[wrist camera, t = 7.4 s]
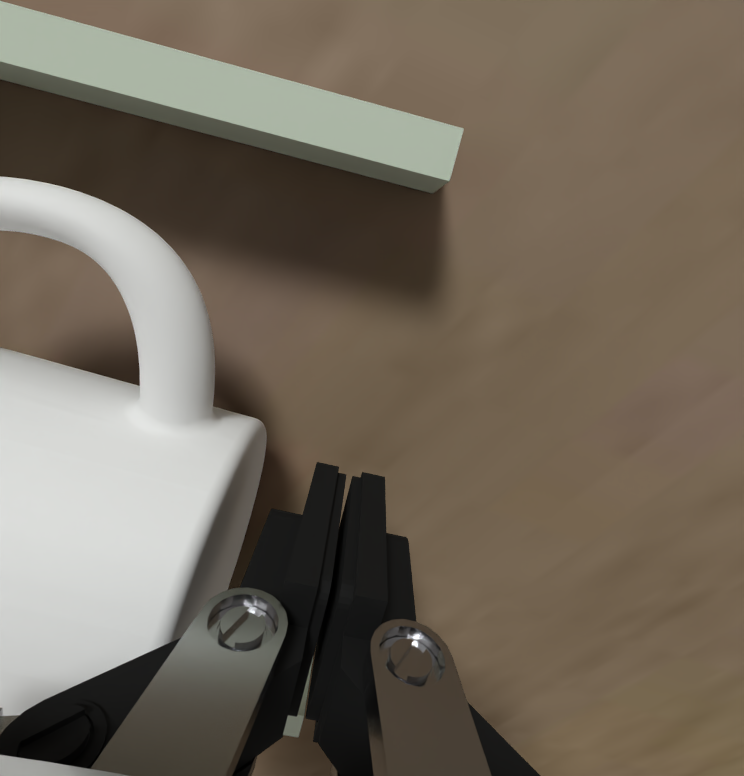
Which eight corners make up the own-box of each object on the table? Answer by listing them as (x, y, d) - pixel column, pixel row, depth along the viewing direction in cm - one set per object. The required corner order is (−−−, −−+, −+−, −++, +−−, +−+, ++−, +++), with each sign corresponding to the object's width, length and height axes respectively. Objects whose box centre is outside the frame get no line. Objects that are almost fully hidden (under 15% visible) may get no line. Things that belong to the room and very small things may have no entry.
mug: (235, 582, 17) (115, 873, 9) (-49, 511, 16) (-444, 768, 8) (319, 252, 13) (238, 275, 5) (-46, 137, 12) (-758, -27, 4)
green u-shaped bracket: (443, 153, 12) (463, 128, 9) (310, 656, 18) (298, 737, 15) (-152, -7, 11) (-335, -92, 8) (-93, 579, 17) (-189, 650, 14)
